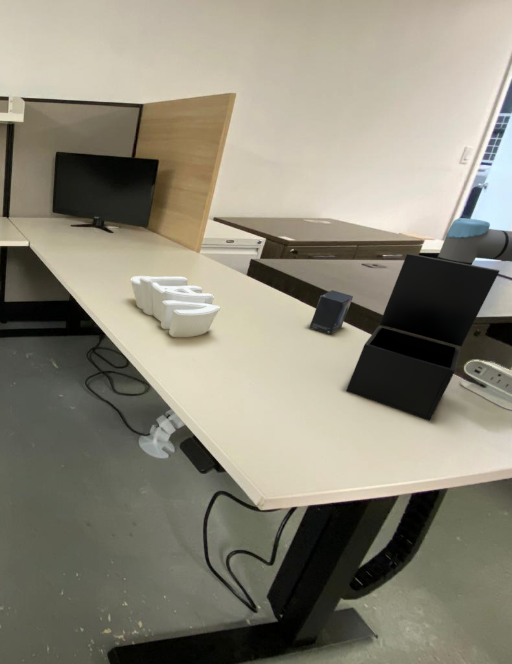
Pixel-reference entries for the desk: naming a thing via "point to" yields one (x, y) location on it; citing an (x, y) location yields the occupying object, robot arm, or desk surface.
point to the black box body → (404, 371)
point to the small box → (330, 312)
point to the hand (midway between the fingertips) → (432, 303)
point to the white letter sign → (175, 304)
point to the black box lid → (437, 298)
